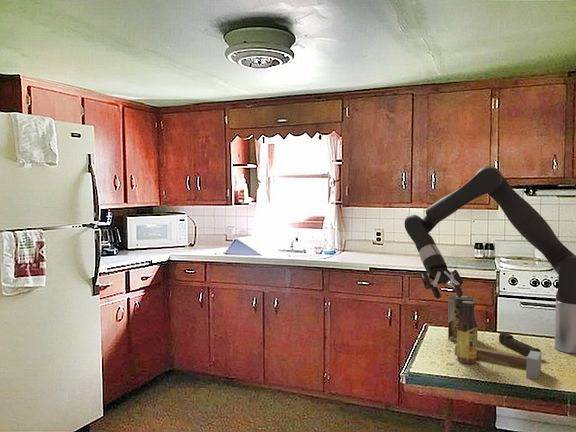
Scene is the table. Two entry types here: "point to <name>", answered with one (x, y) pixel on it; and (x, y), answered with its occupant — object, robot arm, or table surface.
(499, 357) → the walnut straightedge
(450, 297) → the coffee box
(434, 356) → the table surface
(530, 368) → the end stop
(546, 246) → the robot arm
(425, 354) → the table surface
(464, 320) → the sauce bottle
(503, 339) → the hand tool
